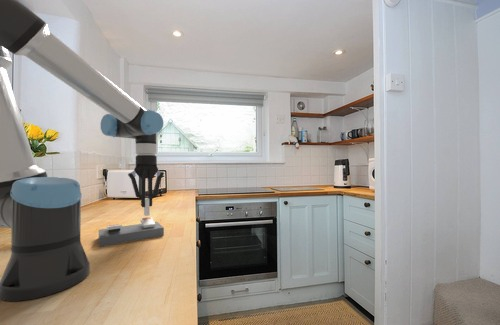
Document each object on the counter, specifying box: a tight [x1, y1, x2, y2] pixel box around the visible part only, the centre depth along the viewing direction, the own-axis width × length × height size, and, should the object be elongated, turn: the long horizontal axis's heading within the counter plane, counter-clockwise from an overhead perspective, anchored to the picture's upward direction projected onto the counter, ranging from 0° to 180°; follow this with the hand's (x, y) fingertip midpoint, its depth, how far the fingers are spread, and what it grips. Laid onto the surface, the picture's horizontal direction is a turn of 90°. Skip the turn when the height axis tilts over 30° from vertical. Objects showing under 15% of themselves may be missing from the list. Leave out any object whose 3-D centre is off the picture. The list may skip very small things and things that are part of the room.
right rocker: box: [139, 216, 156, 228], centre depth 86 cm, size 7×4×1 cm, turn 35°
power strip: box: [98, 221, 165, 248], centre depth 83 cm, size 11×20×4 cm, turn 125°
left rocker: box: [106, 223, 122, 230], centre depth 80 cm, size 7×4×1 cm, turn 35°
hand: (146, 215), depth 88 cm, fingers closed
